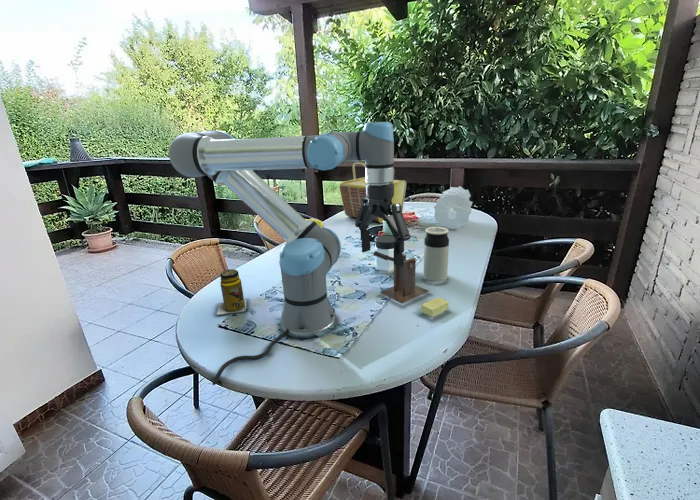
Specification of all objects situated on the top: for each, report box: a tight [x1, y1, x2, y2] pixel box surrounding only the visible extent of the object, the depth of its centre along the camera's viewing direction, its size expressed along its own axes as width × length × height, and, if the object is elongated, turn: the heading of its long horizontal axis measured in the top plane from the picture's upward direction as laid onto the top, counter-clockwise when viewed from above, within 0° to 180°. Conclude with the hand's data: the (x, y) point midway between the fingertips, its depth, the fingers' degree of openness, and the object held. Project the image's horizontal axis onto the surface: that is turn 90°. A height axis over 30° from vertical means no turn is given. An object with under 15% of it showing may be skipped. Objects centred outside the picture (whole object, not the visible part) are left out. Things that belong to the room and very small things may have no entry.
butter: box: [420, 296, 450, 318], centre depth 104 cm, size 7×4×4 cm, turn 128°
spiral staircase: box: [433, 185, 474, 230], centre depth 185 cm, size 18×18×25 cm
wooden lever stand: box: [379, 253, 430, 305], centre depth 114 cm, size 12×10×13 cm
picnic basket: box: [338, 161, 407, 224], centre depth 202 cm, size 29×26×30 cm
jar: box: [374, 235, 396, 272], centre depth 134 cm, size 9×8×12 cm
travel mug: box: [422, 226, 450, 283], centre depth 123 cm, size 8×8×18 cm
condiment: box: [216, 268, 247, 316], centre depth 111 cm, size 7×8×12 cm
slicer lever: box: [372, 250, 407, 267], centre depth 109 cm, size 13×5×2 cm, turn 127°
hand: (381, 256), depth 105 cm, fingers open, 13 cm apart
